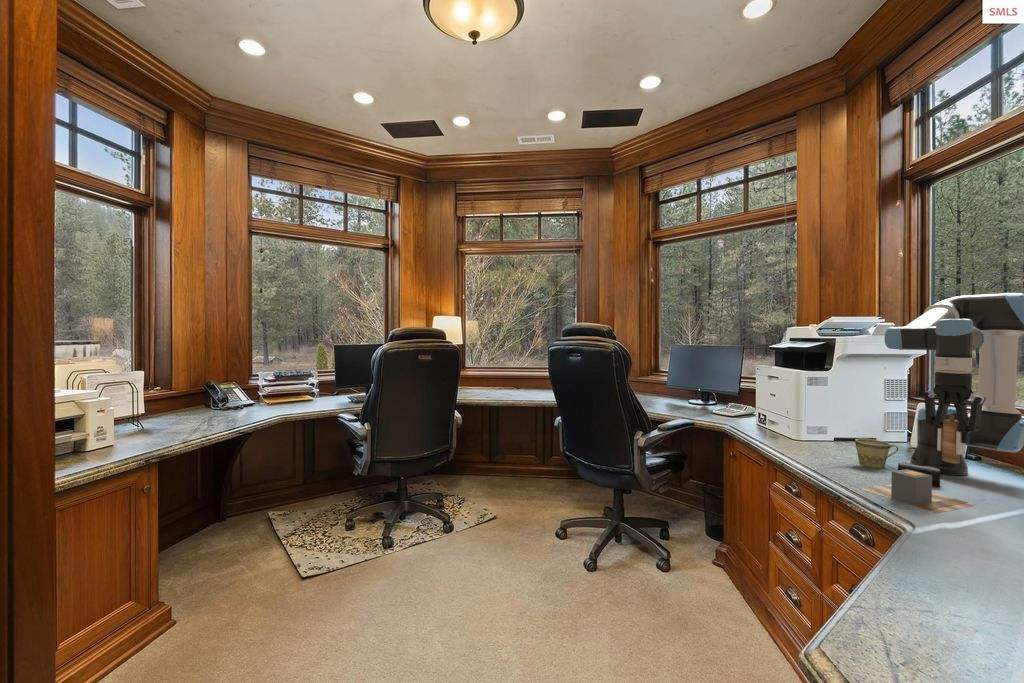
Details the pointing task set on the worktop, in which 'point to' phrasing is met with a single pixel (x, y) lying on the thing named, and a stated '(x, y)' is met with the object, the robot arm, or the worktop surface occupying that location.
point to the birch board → (937, 505)
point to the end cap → (923, 471)
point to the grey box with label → (911, 487)
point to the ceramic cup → (873, 452)
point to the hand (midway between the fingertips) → (951, 451)
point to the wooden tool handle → (950, 440)
